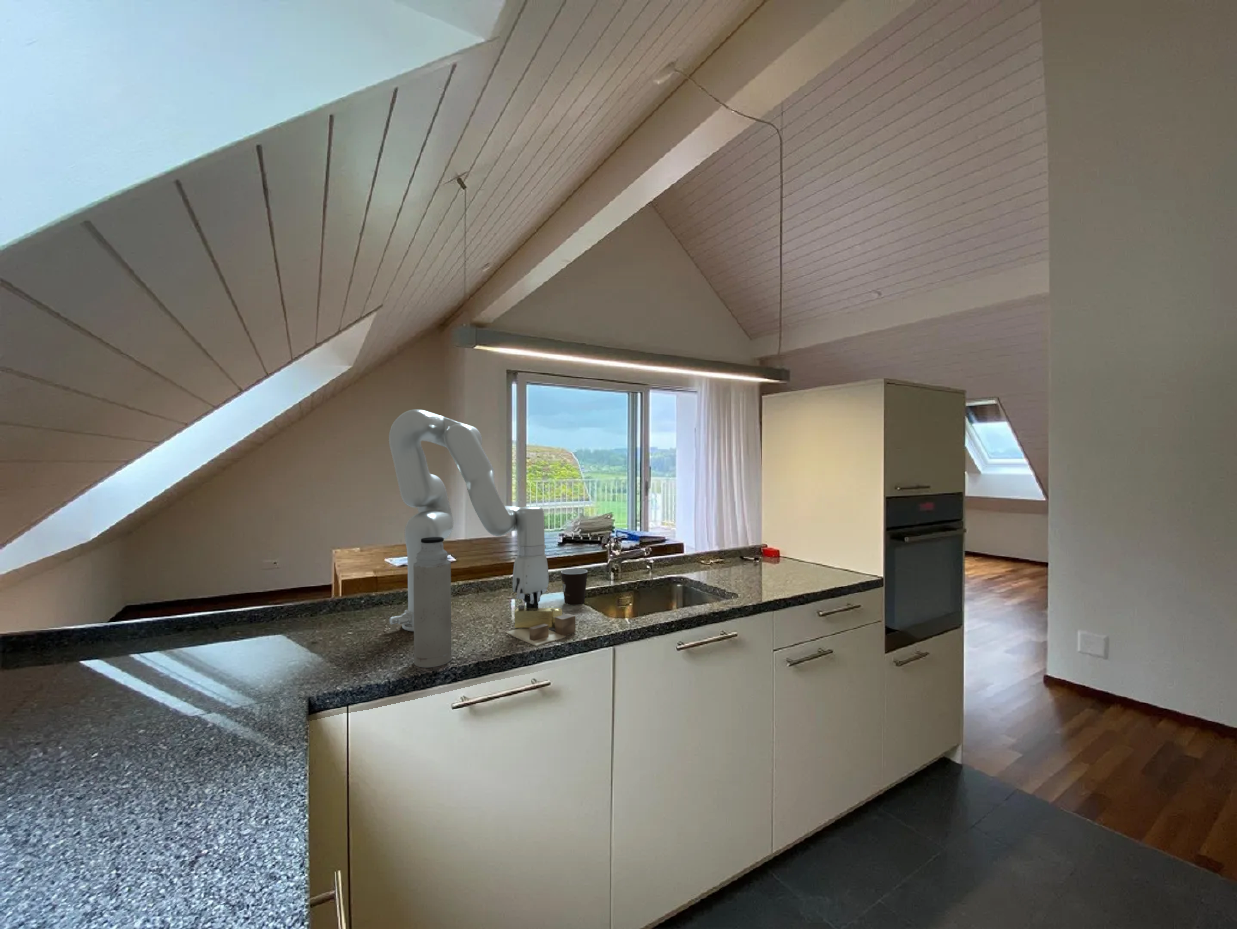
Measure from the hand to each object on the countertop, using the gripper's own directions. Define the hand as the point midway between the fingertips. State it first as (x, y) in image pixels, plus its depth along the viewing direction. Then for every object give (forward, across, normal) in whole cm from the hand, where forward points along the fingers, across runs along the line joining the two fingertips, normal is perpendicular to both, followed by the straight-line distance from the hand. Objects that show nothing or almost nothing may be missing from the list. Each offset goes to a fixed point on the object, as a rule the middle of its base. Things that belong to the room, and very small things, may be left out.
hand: (532, 616), depth 142 cm
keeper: (+2, +8, +10) cm, 13 cm away
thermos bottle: (+2, +32, +1) cm, 32 cm away
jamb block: (+2, +1, +13) cm, 13 cm away
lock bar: (+1, +2, +4) cm, 5 cm away
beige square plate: (+2, +4, +8) cm, 9 cm away
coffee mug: (+2, -25, -6) cm, 26 cm away
